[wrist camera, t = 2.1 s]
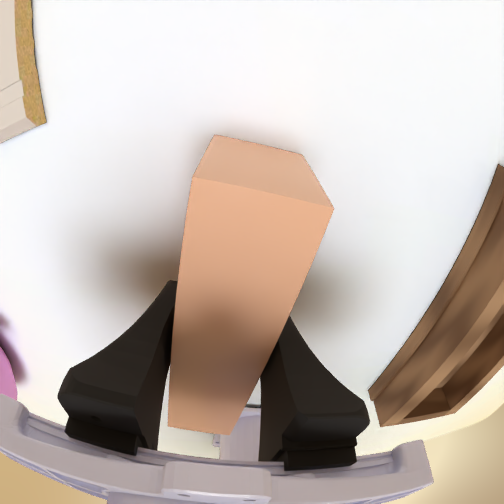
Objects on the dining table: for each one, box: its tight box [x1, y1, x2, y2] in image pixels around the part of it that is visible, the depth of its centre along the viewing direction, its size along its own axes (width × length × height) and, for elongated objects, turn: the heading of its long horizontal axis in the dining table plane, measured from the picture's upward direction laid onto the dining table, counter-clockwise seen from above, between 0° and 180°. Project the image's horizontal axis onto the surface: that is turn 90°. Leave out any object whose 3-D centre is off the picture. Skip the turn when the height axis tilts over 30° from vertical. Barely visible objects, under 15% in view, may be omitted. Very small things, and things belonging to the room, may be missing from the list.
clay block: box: [168, 135, 334, 435], centre depth 13 cm, size 14×4×5 cm, turn 166°
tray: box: [368, 164, 504, 427], centre depth 15 cm, size 19×9×4 cm, turn 170°
